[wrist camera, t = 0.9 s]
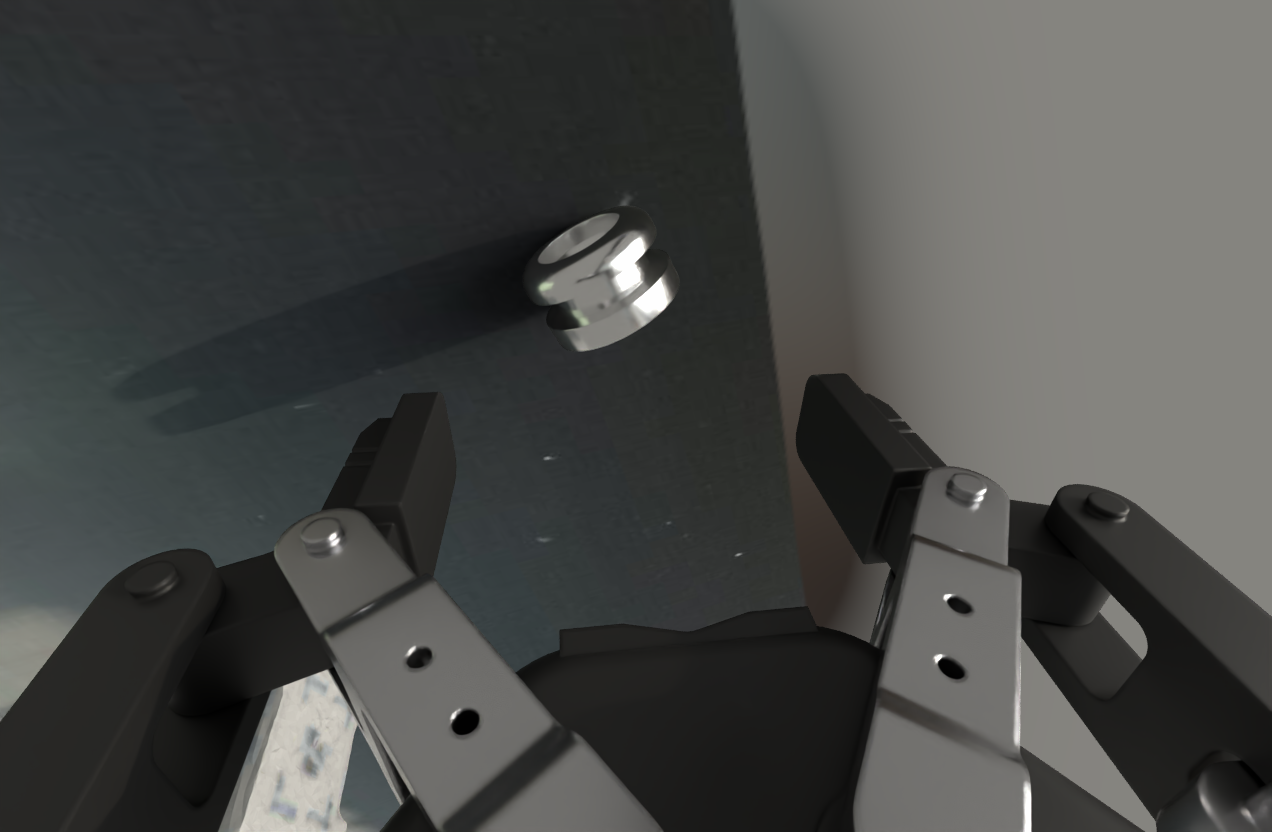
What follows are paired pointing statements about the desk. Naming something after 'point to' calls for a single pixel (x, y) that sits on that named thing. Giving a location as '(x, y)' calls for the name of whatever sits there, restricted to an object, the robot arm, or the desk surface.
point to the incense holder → (295, 762)
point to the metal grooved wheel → (601, 278)
